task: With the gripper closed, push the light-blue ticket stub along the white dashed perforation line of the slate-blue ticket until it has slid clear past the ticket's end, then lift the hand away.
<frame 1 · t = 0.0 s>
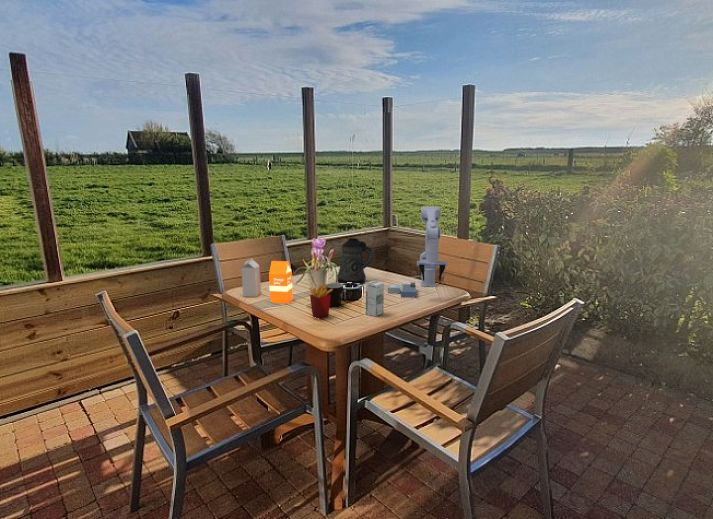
hand: (431, 280, 205), 10 cm above the table, tool pointing down, fingers open, 7 cm apart
ticket: (408, 293, 218), on the table
stub: (394, 289, 221), point 2 cm above the table, slide at 0.0 cm
french fries: (323, 317, 185), on the table
milk carton: (252, 295, 218), on the table
beer stein: (353, 281, 243), on the table
coffee mug: (336, 305, 201), on the table
orange juice: (281, 301, 208), on the table
syrup box: (374, 314, 188), on the table
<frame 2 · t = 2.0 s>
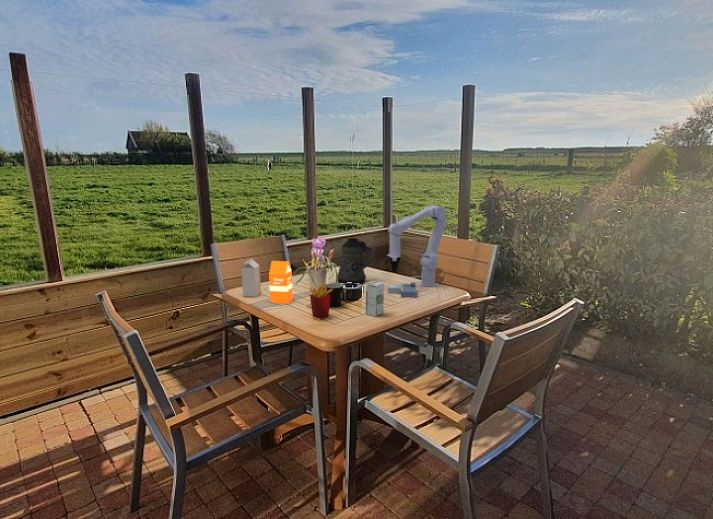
hand: (394, 271, 226), 9 cm above the table, tool pointing down, fingers closed
nothing on the table moved.
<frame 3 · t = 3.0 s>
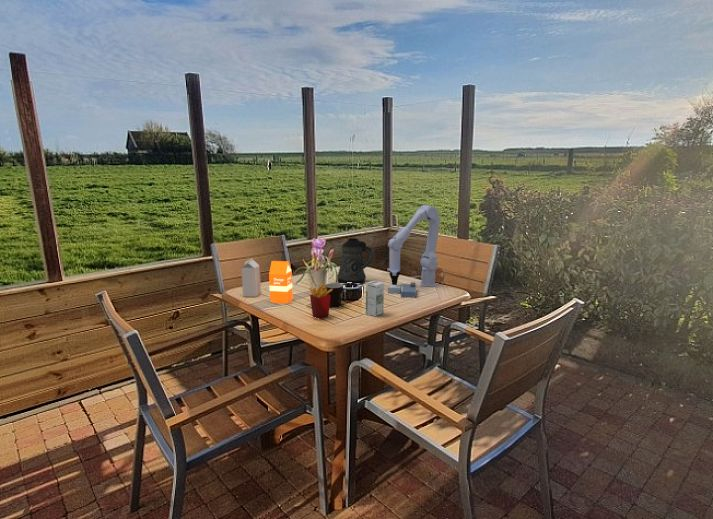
hand: (394, 285, 228), 2 cm above the table, tool pointing down, fingers closed
nothing on the table moved.
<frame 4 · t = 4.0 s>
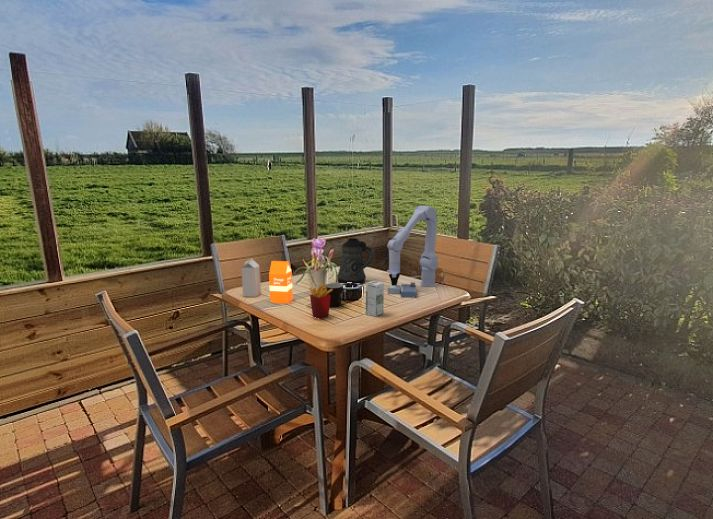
hand: (394, 287, 224), 2 cm above the table, tool pointing down, fingers closed
stub: (394, 289, 220), point 2 cm above the table, slide at 0.8 cm, touching gripper
everything else where it was.
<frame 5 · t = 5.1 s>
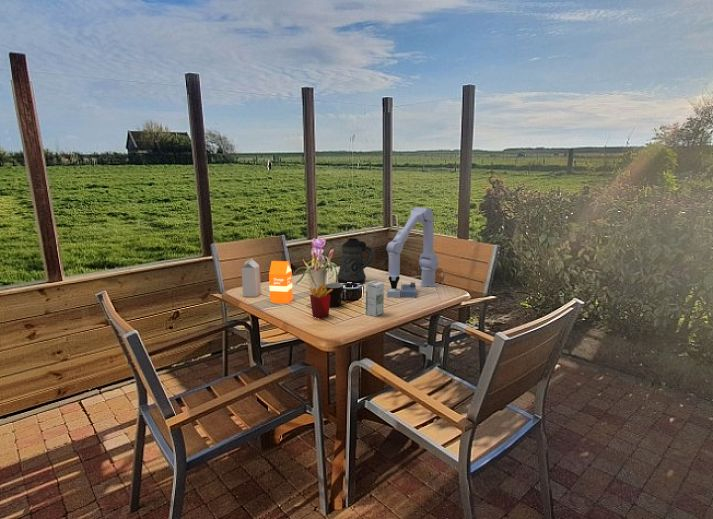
hand: (393, 290, 218), 2 cm above the table, tool pointing down, fingers closed
stub: (393, 292, 214), point 2 cm above the table, slide at 7.2 cm, touching gripper
everything else where it was.
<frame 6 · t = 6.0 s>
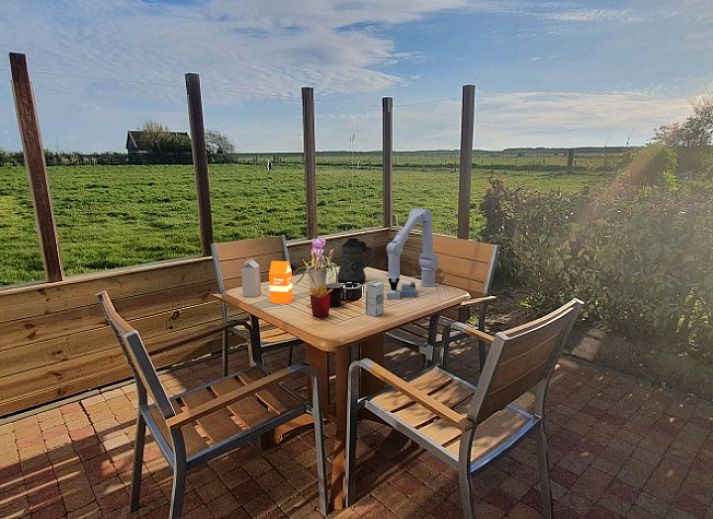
hand: (393, 292, 215), 2 cm above the table, tool pointing down, fingers closed
stub: (393, 294, 212), point 2 cm above the table, slide at 10.0 cm, touching gripper
everything else where it was.
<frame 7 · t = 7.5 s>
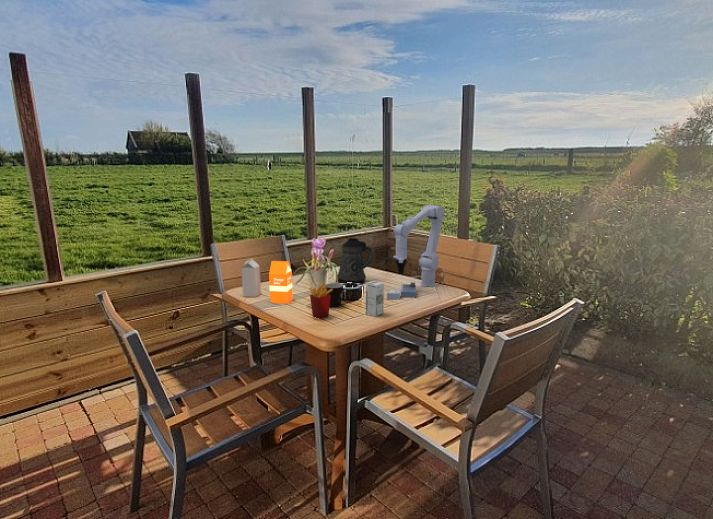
hand: (400, 273, 220), 10 cm above the table, tool pointing down, fingers closed
stub: (393, 294, 212), point 2 cm above the table, slide at 10.0 cm
everything else where it was.
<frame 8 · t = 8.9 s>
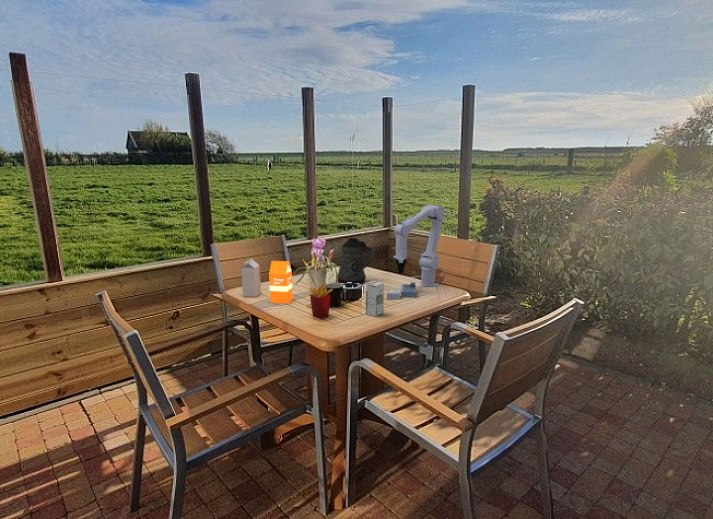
hand: (400, 273, 220), 10 cm above the table, tool pointing down, fingers closed
nothing on the table moved.
at the end: stub slide at 10.0 cm; stub 0.3 cm from the target spot, on the table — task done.
